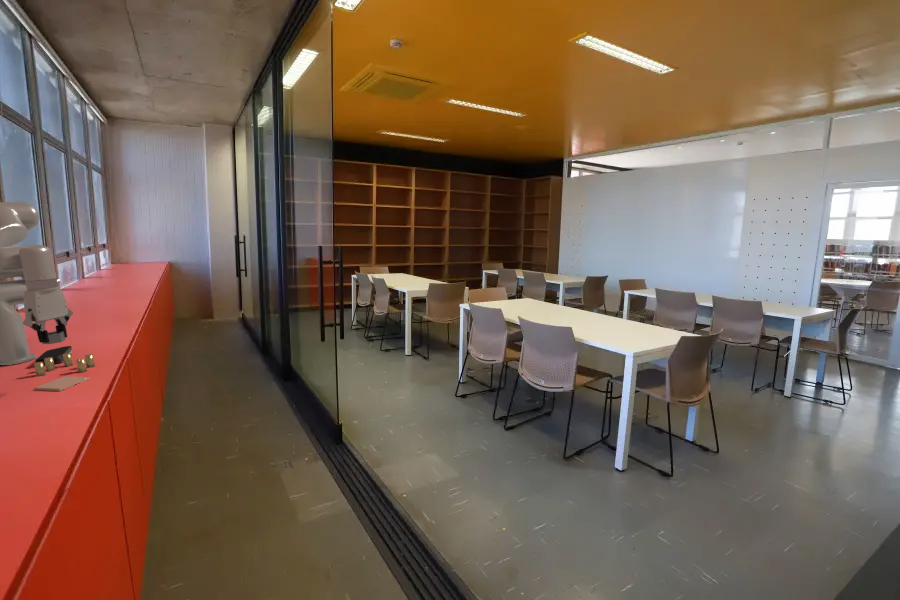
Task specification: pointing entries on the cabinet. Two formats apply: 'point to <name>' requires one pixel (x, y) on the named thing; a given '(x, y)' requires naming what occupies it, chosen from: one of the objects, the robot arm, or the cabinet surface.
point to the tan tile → (61, 383)
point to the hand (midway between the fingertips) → (53, 339)
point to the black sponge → (55, 354)
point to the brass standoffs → (67, 362)
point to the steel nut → (56, 337)
